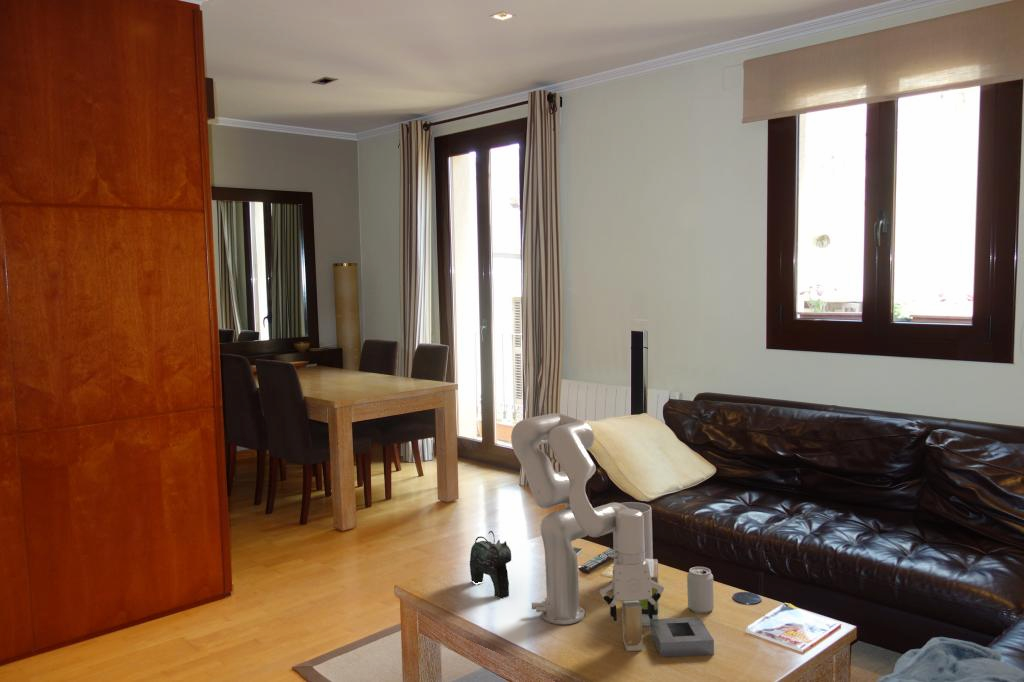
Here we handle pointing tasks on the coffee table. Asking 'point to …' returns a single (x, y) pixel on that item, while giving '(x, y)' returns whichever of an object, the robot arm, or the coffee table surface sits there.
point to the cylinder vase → (647, 526)
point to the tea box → (654, 577)
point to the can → (700, 590)
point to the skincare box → (632, 625)
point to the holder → (681, 637)
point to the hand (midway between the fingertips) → (632, 618)
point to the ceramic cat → (491, 564)
